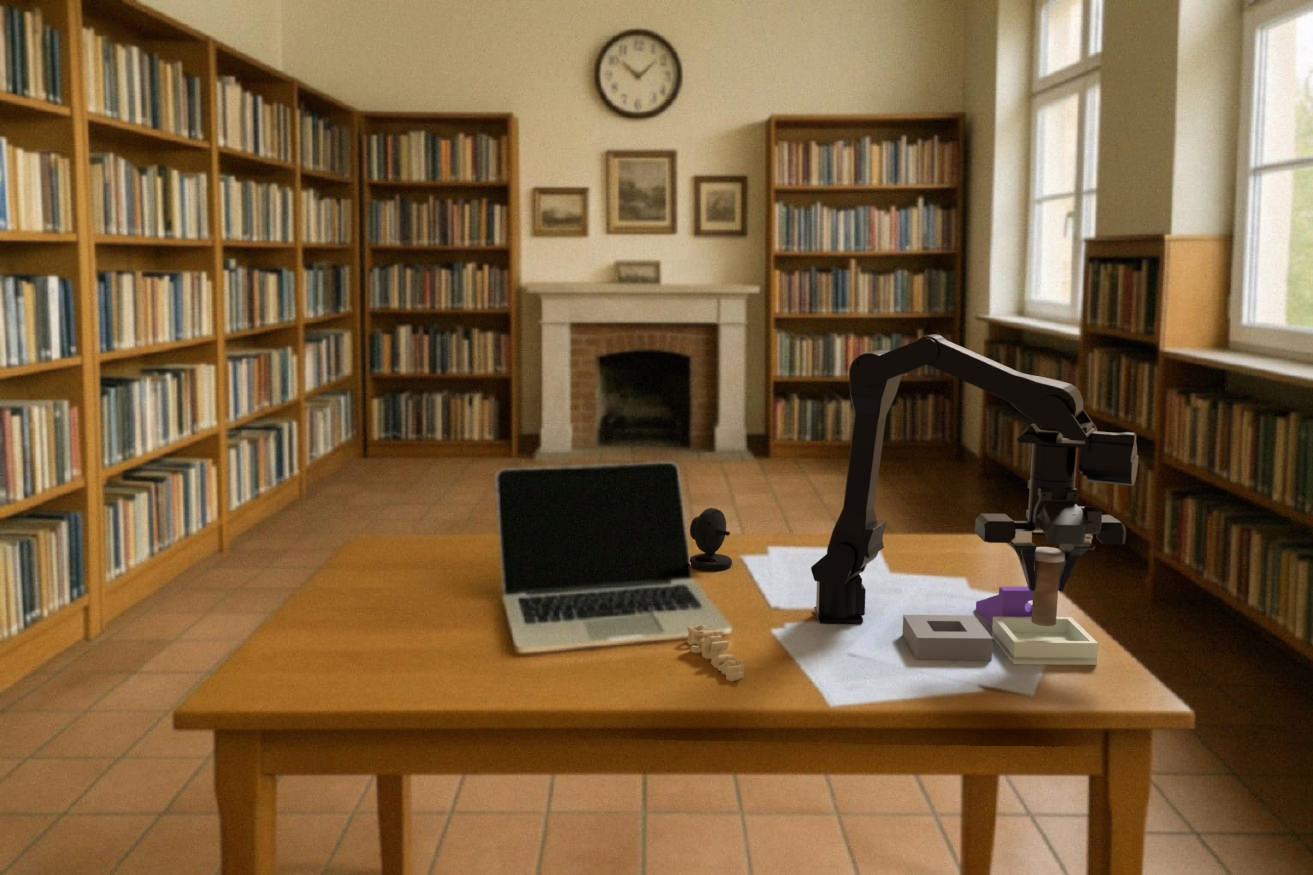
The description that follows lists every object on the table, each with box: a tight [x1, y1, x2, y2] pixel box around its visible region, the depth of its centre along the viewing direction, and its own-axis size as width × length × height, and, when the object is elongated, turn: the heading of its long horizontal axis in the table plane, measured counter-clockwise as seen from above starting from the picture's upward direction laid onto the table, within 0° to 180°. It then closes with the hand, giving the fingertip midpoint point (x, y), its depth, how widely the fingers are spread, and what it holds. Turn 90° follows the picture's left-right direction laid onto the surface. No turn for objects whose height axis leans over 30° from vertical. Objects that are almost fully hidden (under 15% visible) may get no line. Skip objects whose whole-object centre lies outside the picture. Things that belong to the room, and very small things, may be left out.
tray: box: [991, 616, 1099, 666], centre depth 167 cm, size 11×11×3 cm
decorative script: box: [686, 624, 745, 682], centre depth 163 cm, size 17×4×3 cm, turn 22°
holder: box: [902, 614, 994, 661], centre depth 169 cm, size 10×10×3 cm
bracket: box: [975, 585, 1033, 626], centre depth 180 cm, size 12×7×7 cm, turn 3°
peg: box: [1031, 546, 1065, 626], centre depth 166 cm, size 4×4×10 cm
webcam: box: [689, 507, 733, 572], centre depth 209 cm, size 8×8×10 cm
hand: (1045, 590), depth 166 cm, fingers closed on peg, 4 cm apart
